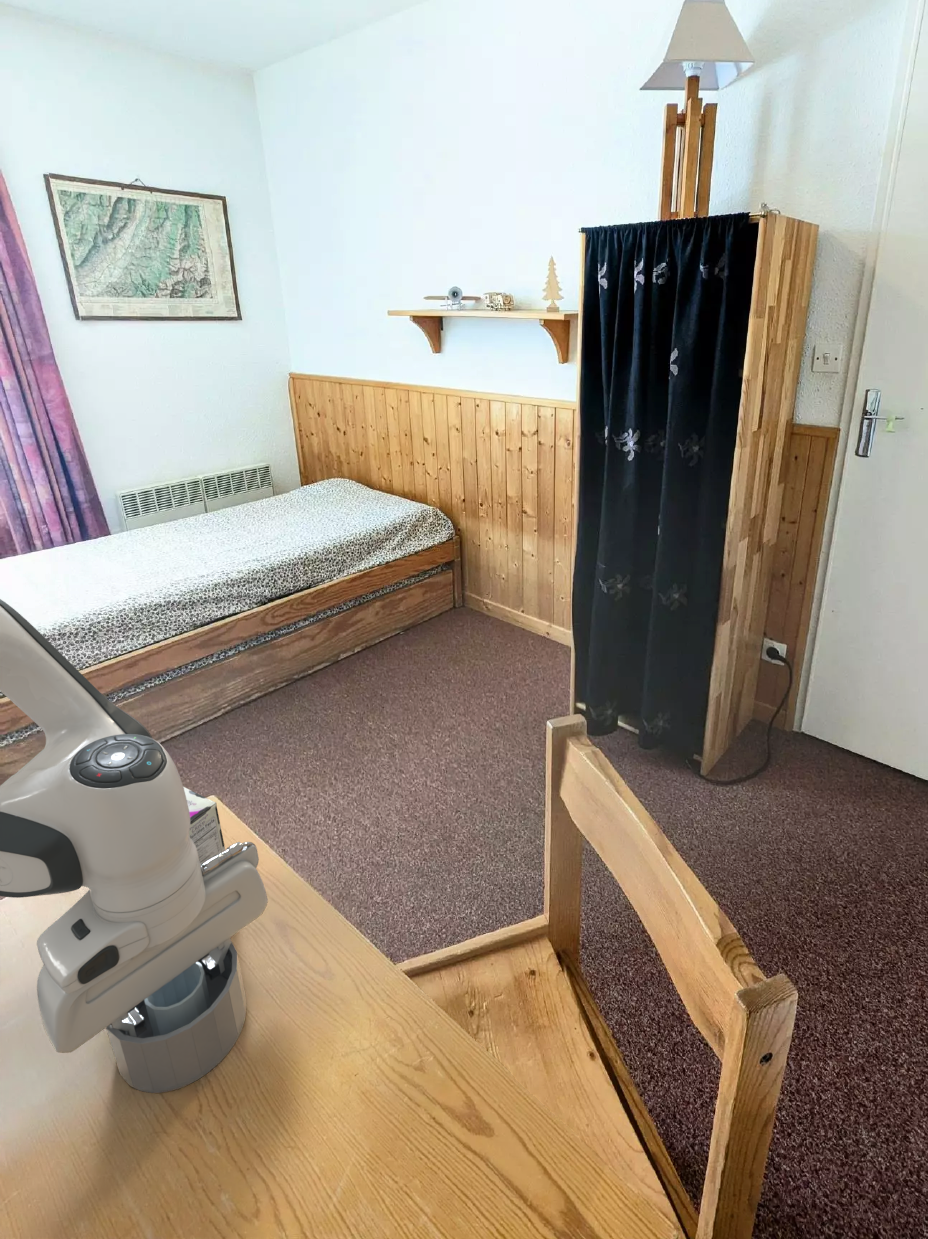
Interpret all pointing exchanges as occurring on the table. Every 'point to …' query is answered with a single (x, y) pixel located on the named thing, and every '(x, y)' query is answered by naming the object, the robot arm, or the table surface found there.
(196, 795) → the candy bar box
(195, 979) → the light blue cup
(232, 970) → the gray bowl
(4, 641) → the robot arm
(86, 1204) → the table surface
